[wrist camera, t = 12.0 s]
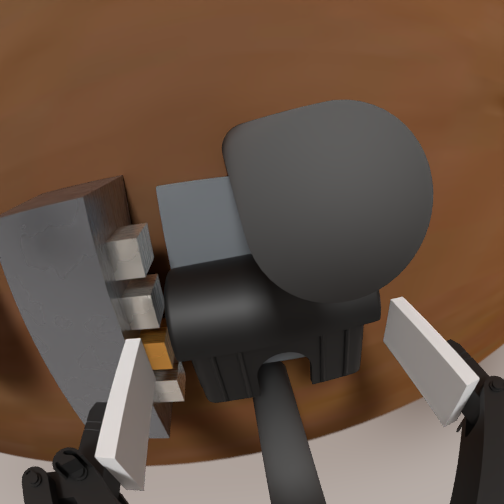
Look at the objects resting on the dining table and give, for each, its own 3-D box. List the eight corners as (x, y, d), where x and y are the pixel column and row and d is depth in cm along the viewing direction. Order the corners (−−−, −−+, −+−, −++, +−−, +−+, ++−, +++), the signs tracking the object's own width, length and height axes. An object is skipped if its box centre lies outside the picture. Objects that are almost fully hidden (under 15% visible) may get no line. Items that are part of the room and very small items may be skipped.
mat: (196, 368, 23) (196, 371, 22) (157, 186, 17) (155, 187, 17) (334, 347, 23) (335, 350, 23) (339, 167, 18) (342, 167, 18)
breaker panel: (108, 380, 22) (92, 435, 17) (42, 193, 16) (-12, 221, 11) (194, 377, 23) (192, 437, 17) (148, 170, 17) (117, 190, 11)
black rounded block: (333, 218, 19) (386, 262, 13) (336, 312, 22) (375, 375, 15) (173, 247, 18) (154, 307, 12) (199, 339, 21) (197, 413, 15)
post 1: (250, 387, 24) (278, 543, 11) (247, 362, 23) (277, 534, 10) (286, 381, 24) (329, 532, 11) (285, 356, 23) (336, 521, 10)
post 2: (224, 176, 17) (252, 316, 5) (219, 125, 16) (230, 103, 3) (276, 171, 18) (422, 286, 5) (272, 121, 16) (433, 107, 4)
